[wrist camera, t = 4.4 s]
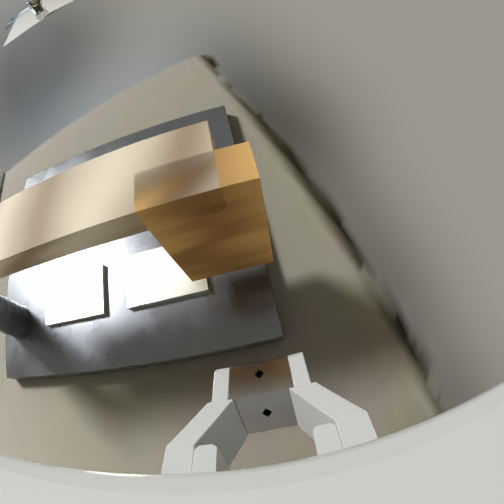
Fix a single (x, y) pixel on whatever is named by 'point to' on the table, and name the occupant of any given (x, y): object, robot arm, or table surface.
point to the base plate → (130, 297)
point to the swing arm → (147, 206)
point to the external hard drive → (1, 177)
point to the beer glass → (37, 8)
